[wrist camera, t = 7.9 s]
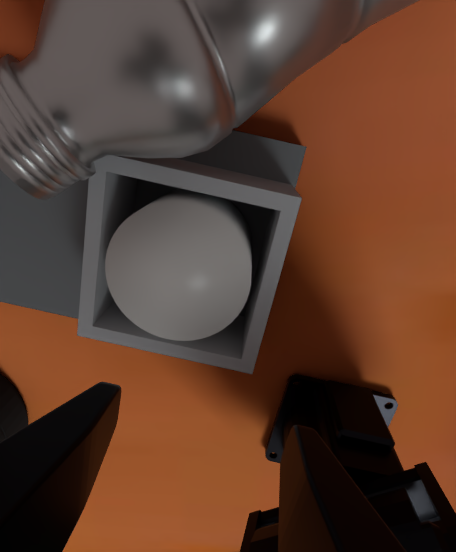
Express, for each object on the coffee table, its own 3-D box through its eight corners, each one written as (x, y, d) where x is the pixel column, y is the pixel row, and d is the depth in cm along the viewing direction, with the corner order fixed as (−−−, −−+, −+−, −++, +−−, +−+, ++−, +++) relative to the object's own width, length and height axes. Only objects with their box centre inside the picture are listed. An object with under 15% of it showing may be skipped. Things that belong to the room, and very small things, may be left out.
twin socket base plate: (249, 342, 22) (247, 406, 16) (-158, 251, 21) (-289, 288, 16) (302, 146, 18) (321, 149, 13) (-196, 32, 17) (-384, -11, 12)
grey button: (238, 311, 19) (233, 353, 15) (130, 286, 19) (99, 324, 15) (265, 202, 17) (267, 221, 13) (144, 175, 17) (112, 186, 13)
